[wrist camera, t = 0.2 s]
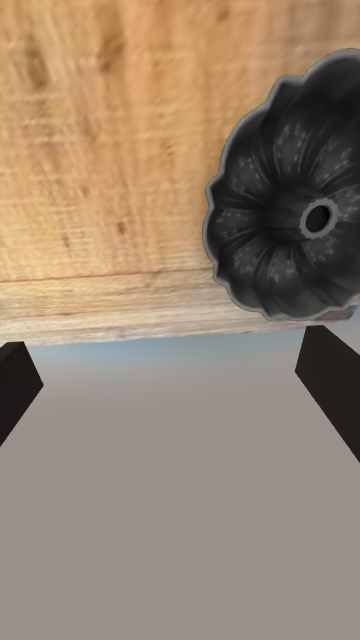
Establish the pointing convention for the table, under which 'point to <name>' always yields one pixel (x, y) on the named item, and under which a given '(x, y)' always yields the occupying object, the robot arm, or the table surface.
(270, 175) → the bundt pan
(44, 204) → the table surface
